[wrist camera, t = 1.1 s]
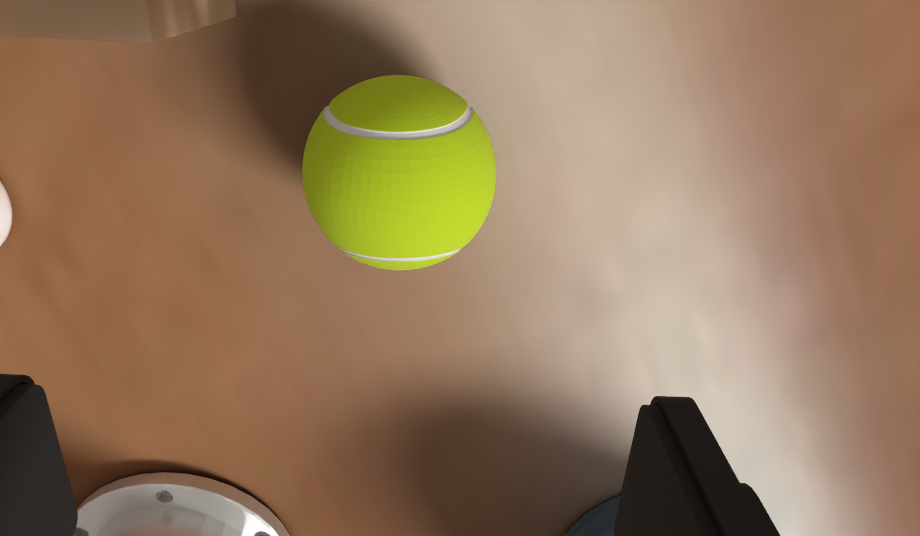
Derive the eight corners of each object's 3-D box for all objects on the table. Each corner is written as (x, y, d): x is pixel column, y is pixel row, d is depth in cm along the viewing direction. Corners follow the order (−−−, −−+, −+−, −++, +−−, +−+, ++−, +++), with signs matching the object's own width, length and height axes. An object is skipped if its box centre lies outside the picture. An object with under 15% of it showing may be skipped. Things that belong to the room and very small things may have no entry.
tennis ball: (486, 227, 29) (498, 305, 22) (326, 225, 28) (292, 303, 22) (493, 62, 26) (509, 99, 19) (314, 58, 25) (271, 94, 19)
